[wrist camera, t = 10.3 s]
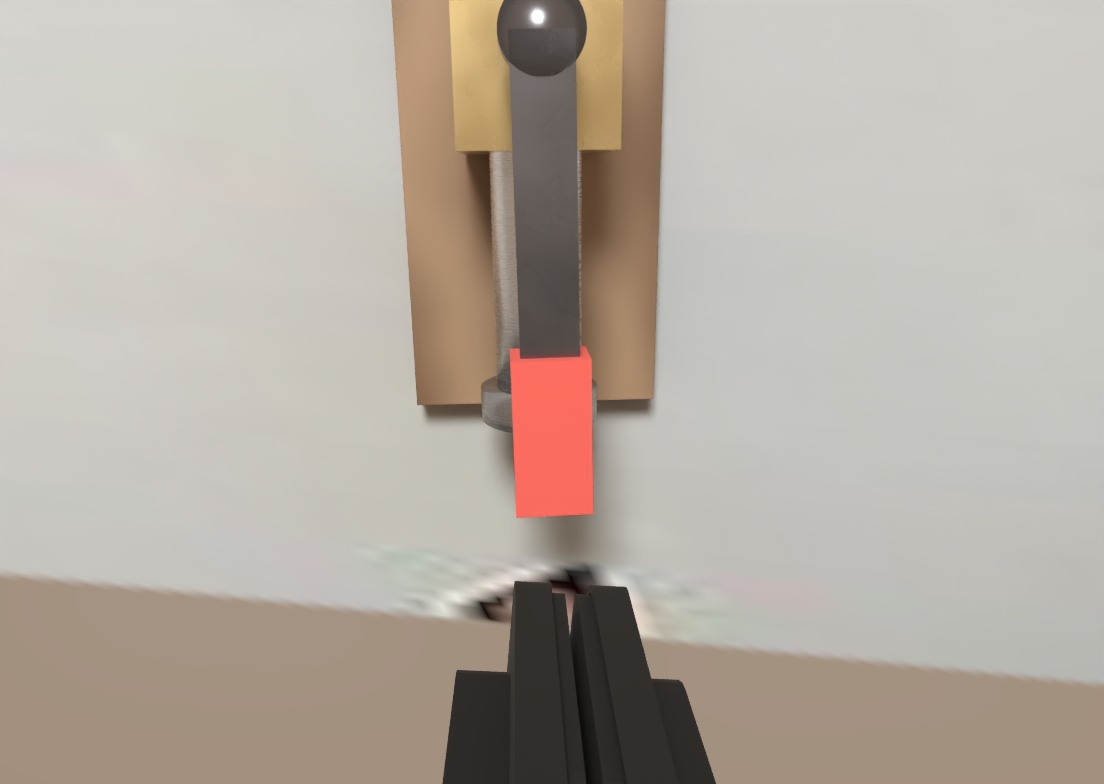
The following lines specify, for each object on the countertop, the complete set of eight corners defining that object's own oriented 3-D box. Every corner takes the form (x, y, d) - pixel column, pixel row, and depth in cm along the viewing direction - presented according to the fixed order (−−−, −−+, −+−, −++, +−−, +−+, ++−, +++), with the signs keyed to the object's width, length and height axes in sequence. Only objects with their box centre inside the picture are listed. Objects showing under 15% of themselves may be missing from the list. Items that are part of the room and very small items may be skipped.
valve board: (666, -329, 26) (741, -561, 18) (646, 388, 33) (693, 459, 25) (375, -337, 25) (314, -580, 17) (421, 394, 33) (393, 469, 25)
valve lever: (495, -9, 21) (494, -26, 19) (581, -11, 21) (588, -27, 19) (515, 494, 25) (516, 517, 23) (586, 490, 25) (592, 514, 24)
